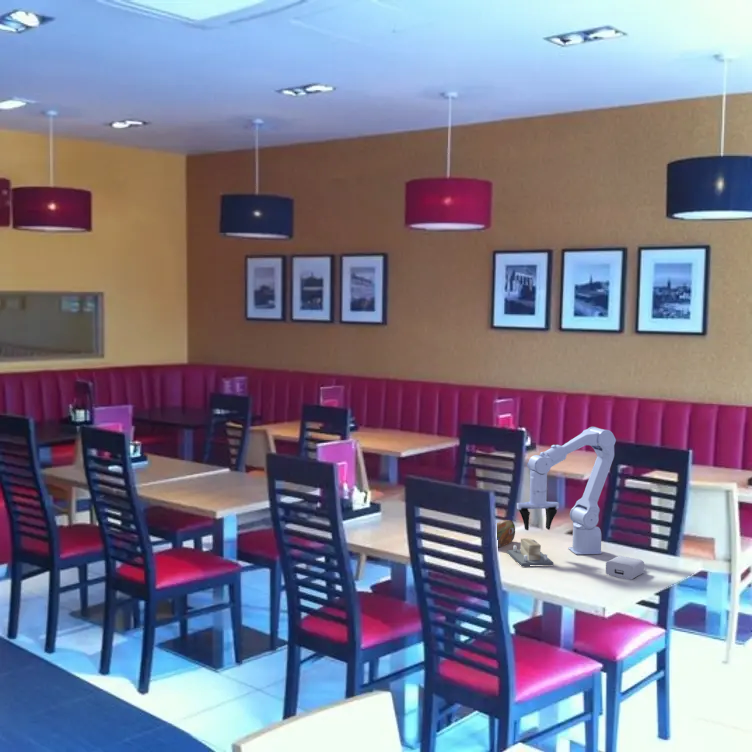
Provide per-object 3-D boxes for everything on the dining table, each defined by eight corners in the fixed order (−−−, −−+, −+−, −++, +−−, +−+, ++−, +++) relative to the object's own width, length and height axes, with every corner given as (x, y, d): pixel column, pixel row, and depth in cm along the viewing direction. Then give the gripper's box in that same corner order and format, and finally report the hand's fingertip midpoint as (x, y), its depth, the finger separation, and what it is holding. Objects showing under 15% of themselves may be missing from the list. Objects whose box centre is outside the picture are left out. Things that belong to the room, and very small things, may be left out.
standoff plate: (537, 552, 324) (538, 543, 324) (553, 565, 309) (553, 556, 308) (507, 553, 323) (507, 544, 322) (521, 566, 307) (521, 557, 307)
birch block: (531, 552, 320) (532, 538, 320) (540, 559, 311) (540, 545, 311) (520, 552, 319) (520, 538, 319) (528, 560, 311) (529, 545, 310)
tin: (495, 549, 328) (495, 526, 327) (487, 548, 330) (487, 524, 329) (515, 541, 340) (516, 518, 339) (508, 539, 342) (508, 517, 341)
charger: (651, 570, 306) (632, 580, 295) (624, 565, 312) (605, 574, 300) (651, 556, 306) (633, 566, 294) (625, 551, 312) (606, 560, 300)
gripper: (521, 493, 314) (520, 532, 315) (562, 492, 316) (561, 531, 317) (515, 489, 321) (514, 527, 322) (555, 488, 323) (554, 526, 324)
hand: (537, 529), depth 320 cm, fingers open, 7 cm apart
